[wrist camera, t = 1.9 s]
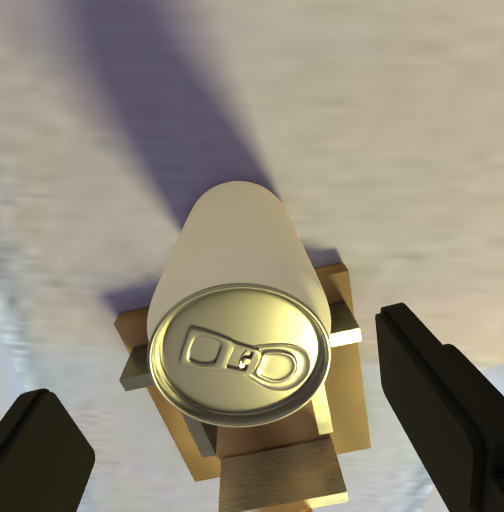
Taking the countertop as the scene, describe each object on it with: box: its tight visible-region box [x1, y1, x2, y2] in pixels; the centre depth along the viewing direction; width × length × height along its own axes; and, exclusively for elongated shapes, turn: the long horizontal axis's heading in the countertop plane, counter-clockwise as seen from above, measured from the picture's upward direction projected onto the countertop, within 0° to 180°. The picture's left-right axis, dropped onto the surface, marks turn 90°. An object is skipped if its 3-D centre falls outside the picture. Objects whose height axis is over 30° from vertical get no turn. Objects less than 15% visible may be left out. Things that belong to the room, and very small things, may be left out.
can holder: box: [119, 300, 361, 458], centre depth 23 cm, size 15×9×3 cm, turn 103°
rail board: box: [114, 263, 371, 482], centre depth 26 cm, size 16×18×1 cm
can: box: [147, 181, 332, 428], centre depth 15 cm, size 6×6×12 cm
